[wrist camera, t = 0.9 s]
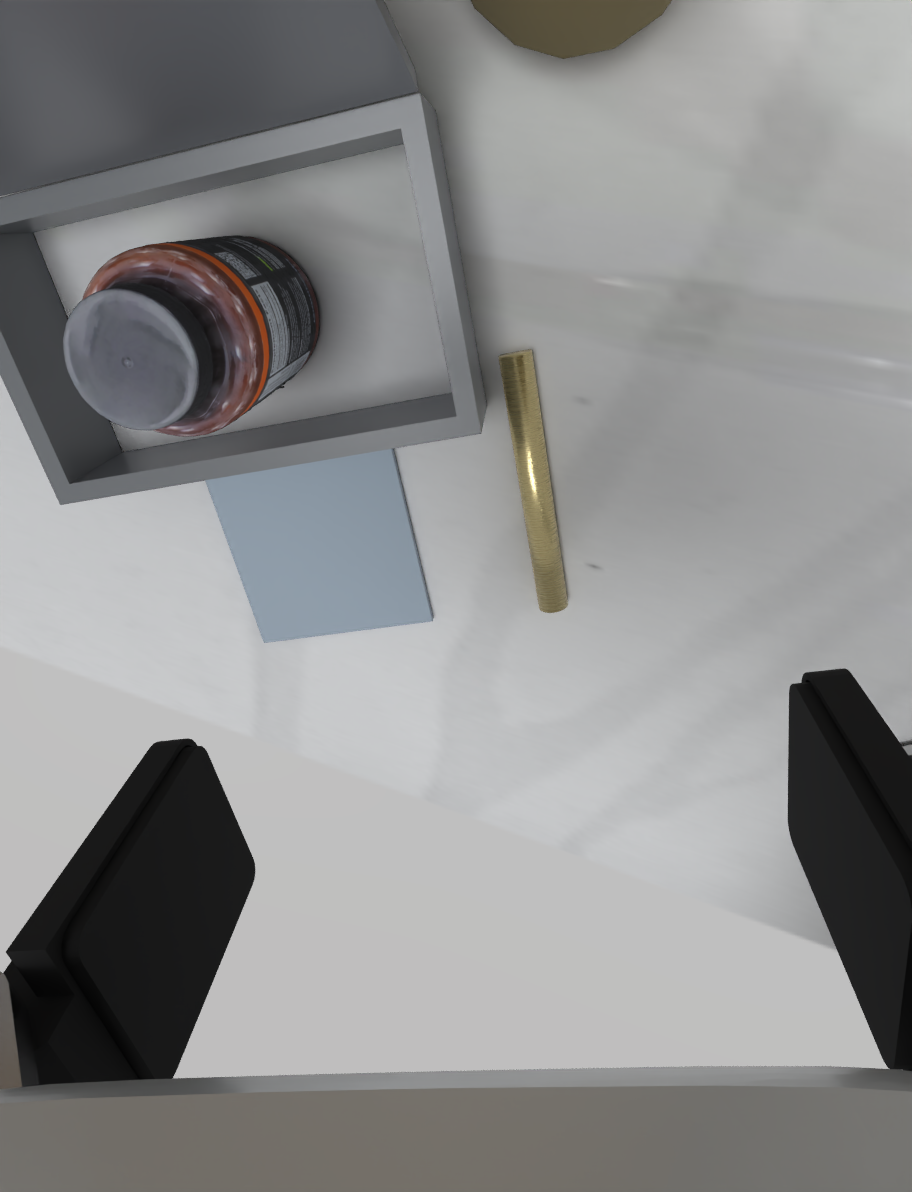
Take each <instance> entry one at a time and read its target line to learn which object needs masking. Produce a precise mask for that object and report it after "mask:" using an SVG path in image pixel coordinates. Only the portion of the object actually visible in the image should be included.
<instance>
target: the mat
mask: <svg viewBox="0 0 912 1192" xmlns="http://www.w3.org/2000/svg"><path fill="white" fill-rule="evenodd" d="M205 481H206V484H207V487H208V489H209V492H210V495H211V498H212V500H213V503H214V506H215V509H216V511H217V514H218V517H219V520H220V522H221V525H222V528H223V531H224V534H225V536H226V539H227V542H228V545H229V547H230V550H231V553H232V556H233V558H234V561H235V564H236V567H237V569H238V572H239V575H240V578H241V581H242V583H243V586H244V589H245V592H246V594H247V597H248V600H249V603H250V605H251V608H252V611H253V614H254V616H255V619H256V622H257V625H258V628H259V630H260V633H261V636H262V639H263V641H264V643H267V642H275V641H283V640H291V639H298V638H306V637H314V636H322V635H329V634H337V633H345V632H353V631H361V630H368V629H376V628H384V627H392V626H399V625H407V624H415V623H423V622H430V621H433V614H432V610H431V606H430V602H429V597H428V593H427V589H426V585H425V580H424V576H423V572H422V568H421V564H420V559H419V555H418V551H417V547H416V542H415V538H414V534H413V530H412V526H411V521H410V517H409V513H408V509H407V504H406V500H405V496H404V492H403V488H402V483H401V479H400V475H399V471H398V466H397V462H396V458H395V454H394V450H393V449H387V450H381V451H375V452H369V453H364V454H358V455H352V456H346V457H340V458H334V459H328V460H322V461H316V462H311V463H305V464H299V465H293V466H287V467H281V468H275V469H269V470H263V471H257V472H252V473H246V474H240V475H234V476H228V477H222V478H216V479H210V480H205Z"/></svg>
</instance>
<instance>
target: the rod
mask: <svg viewBox="0 0 912 1192" xmlns="http://www.w3.org/2000/svg"><path fill="white" fill-rule="evenodd" d="M499 363H500V369H501V375H502V381H503V388H504V394H505V400H506V406H507V412H508V419H509V425H510V431H511V437H512V443H513V449H514V456H515V462H516V468H517V474H518V480H519V486H520V493H521V499H522V505H523V511H524V517H525V523H526V530H527V536H528V542H529V548H530V554H531V560H532V567H533V573H534V579H535V585H536V591H537V597H538V604H539V609H540V610H541V611H543V612H547V613H554V612H559V611H561V610H563V609H565V608H566V607H567V606H568V601H567V594H566V587H565V580H564V573H563V566H562V559H561V552H560V545H559V538H558V531H557V524H556V517H555V510H554V502H553V495H552V488H551V481H550V474H549V467H548V460H547V453H546V446H545V439H544V432H543V425H542V418H541V411H540V404H539V397H538V390H537V382H536V375H535V368H534V361H533V354H532V350H529V349H528V350H522V351H517V352H512V353H506V354H502V355H500V356H499Z"/></svg>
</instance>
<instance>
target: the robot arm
mask: <svg viewBox="0 0 912 1192" xmlns="http://www.w3.org/2000/svg"><path fill="white" fill-rule="evenodd" d="M788 826H789V832H790V836H791V840H792V843H793V846H794V848H795V850H796V853H797V855H798V858H799V860H800V862H801V865H802V867H803V870H804V872H805V874H806V877H807V879H808V881H809V884H810V886H811V889H812V891H813V893H814V896H815V898H816V901H817V903H818V905H819V908H820V910H821V913H822V915H823V917H824V920H825V922H826V925H827V927H828V929H829V932H830V934H831V936H832V939H833V941H834V944H835V946H836V948H837V951H838V953H839V956H840V958H841V960H842V963H843V965H844V968H845V970H846V972H847V974H848V977H849V979H850V982H851V984H852V987H853V989H854V991H855V994H856V996H857V999H858V1001H859V1003H860V1006H861V1008H862V1010H863V1013H864V1015H865V1018H866V1020H867V1022H868V1025H869V1027H870V1030H871V1032H872V1034H873V1037H874V1039H875V1042H876V1044H877V1046H878V1049H879V1051H880V1054H881V1056H882V1058H883V1060H884V1062H885V1064H886V1065H887V1067H888V1068H889V1069H875V1068H851V1067H831V1066H740V1067H739V1066H732V1067H731V1066H716V1067H715V1066H704V1067H703V1066H693V1067H642V1068H641V1067H640V1068H588V1069H587V1068H586V1069H585V1068H583V1069H533V1070H531V1069H528V1070H483V1071H482V1070H481V1071H441V1072H440V1071H439V1072H397V1073H395V1072H394V1073H356V1074H319V1075H318V1074H315V1075H279V1076H246V1077H214V1078H213V1077H212V1078H181V1079H180V1078H178V1079H172V1078H173V1076H174V1074H175V1072H176V1070H177V1068H178V1065H179V1063H180V1060H181V1057H182V1055H183V1053H184V1051H185V1048H186V1046H187V1043H188V1041H189V1038H190V1036H191V1033H192V1031H193V1029H194V1026H195V1023H196V1021H197V1019H198V1016H199V1014H200V1012H201V1009H202V1007H203V1004H204V1002H205V999H206V997H207V994H208V992H209V990H210V987H211V985H212V982H213V980H214V977H215V975H216V972H217V970H218V968H219V965H220V963H221V960H222V958H223V955H224V953H225V951H226V948H227V945H228V943H229V941H230V938H231V936H232V933H233V931H234V929H235V926H236V924H237V921H238V919H239V916H240V914H241V911H242V909H243V907H244V904H245V902H246V899H247V897H248V894H249V892H250V889H251V887H252V885H253V882H254V877H255V863H254V859H253V857H252V855H251V852H250V850H249V848H248V845H247V843H246V841H245V839H244V836H243V834H242V831H241V829H240V827H239V825H238V822H237V820H236V818H235V815H234V813H233V811H232V808H231V806H230V804H229V801H228V799H227V797H226V795H225V792H224V790H223V788H222V785H221V783H220V781H219V778H218V776H217V774H216V772H215V769H214V767H213V764H212V762H211V760H210V758H209V755H208V753H207V751H206V750H205V748H203V747H202V746H197V745H196V743H195V742H194V741H193V740H192V739H178V740H170V741H160V742H156V743H154V744H153V745H152V746H151V747H150V748H149V750H148V751H147V753H146V754H145V755H144V757H143V758H142V760H141V761H140V763H139V764H138V765H137V767H136V768H135V770H134V771H133V772H132V774H131V776H130V777H129V778H128V780H127V781H126V782H125V784H124V785H123V787H122V788H121V789H120V791H119V792H118V794H117V795H116V797H115V798H114V800H113V801H112V802H111V804H110V805H109V806H108V808H107V809H106V811H105V812H104V814H103V815H102V816H101V818H100V819H99V821H98V822H97V824H96V825H95V826H94V828H93V829H92V831H91V832H90V833H89V835H88V836H87V838H86V839H85V840H84V842H83V843H82V845H81V846H80V848H79V849H78V850H77V852H76V853H75V855H74V856H73V857H72V859H71V860H70V862H69V863H68V865H67V866H66V867H65V869H64V870H63V872H62V873H61V875H60V876H59V877H58V879H57V880H56V882H55V883H54V884H53V886H52V887H51V889H50V890H49V892H48V893H47V894H46V896H45V897H44V899H43V900H42V902H41V903H40V904H39V906H38V907H37V909H36V910H35V911H34V913H33V914H32V916H31V917H30V919H29V920H28V921H27V923H26V924H25V925H24V927H23V928H22V930H21V931H20V933H19V934H18V935H17V937H16V938H15V940H14V941H13V942H12V944H11V945H10V947H9V948H8V950H7V951H6V953H7V954H8V956H9V957H10V959H11V960H12V961H11V963H10V964H9V966H8V967H7V969H6V970H5V971H4V973H2V972H0V1192H912V745H907V746H902V745H901V744H900V743H899V741H898V740H897V738H896V737H895V735H894V734H893V733H892V731H891V730H890V728H889V727H888V725H887V724H886V723H885V721H884V720H883V718H882V717H881V715H880V714H879V712H878V711H877V710H876V708H875V707H874V705H873V704H872V702H871V701H870V700H869V698H868V697H867V695H866V694H865V692H864V691H863V690H862V688H861V687H860V685H859V684H858V682H857V681H856V680H855V678H854V677H853V675H852V674H851V673H850V672H849V671H848V670H847V669H835V670H826V671H817V672H807V673H805V674H803V677H802V683H797V684H792V685H791V686H790V690H789V759H788Z"/></svg>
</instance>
